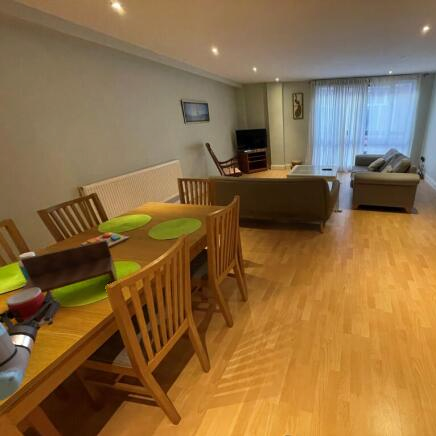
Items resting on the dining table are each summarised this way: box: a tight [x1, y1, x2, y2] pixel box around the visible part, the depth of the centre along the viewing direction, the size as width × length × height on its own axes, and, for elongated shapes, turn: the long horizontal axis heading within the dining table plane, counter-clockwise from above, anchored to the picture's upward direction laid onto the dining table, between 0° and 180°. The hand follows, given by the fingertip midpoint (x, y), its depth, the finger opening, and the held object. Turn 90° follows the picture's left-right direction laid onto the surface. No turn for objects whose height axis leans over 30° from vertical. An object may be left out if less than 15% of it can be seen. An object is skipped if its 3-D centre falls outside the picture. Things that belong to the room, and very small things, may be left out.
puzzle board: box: [80, 231, 130, 248], centre depth 146 cm, size 18×19×4 cm
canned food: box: [5, 288, 45, 323], centre depth 80 cm, size 8×8×11 cm
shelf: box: [20, 240, 118, 294], centre depth 102 cm, size 28×16×17 cm, turn 126°
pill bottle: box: [17, 251, 36, 282], centre depth 110 cm, size 8×7×14 cm
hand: (33, 299), depth 83 cm, fingers closed on canned food, 8 cm apart
